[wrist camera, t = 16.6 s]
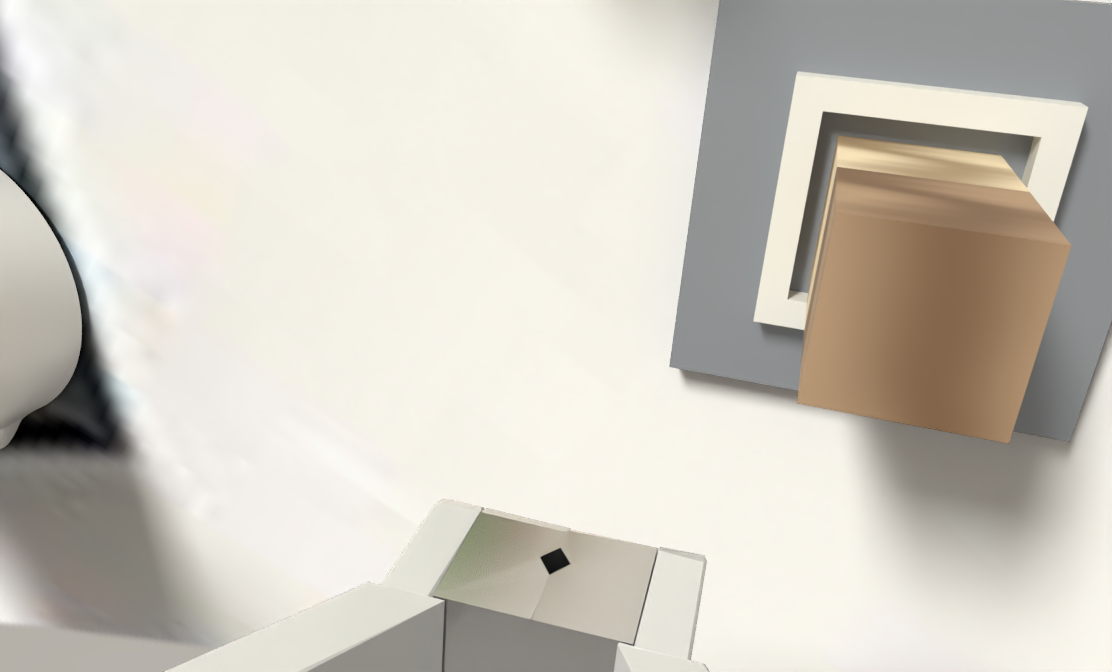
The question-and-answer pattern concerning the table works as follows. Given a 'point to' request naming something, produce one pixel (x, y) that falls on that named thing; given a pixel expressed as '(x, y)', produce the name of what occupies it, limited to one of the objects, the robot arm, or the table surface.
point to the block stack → (928, 288)
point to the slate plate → (906, 117)
